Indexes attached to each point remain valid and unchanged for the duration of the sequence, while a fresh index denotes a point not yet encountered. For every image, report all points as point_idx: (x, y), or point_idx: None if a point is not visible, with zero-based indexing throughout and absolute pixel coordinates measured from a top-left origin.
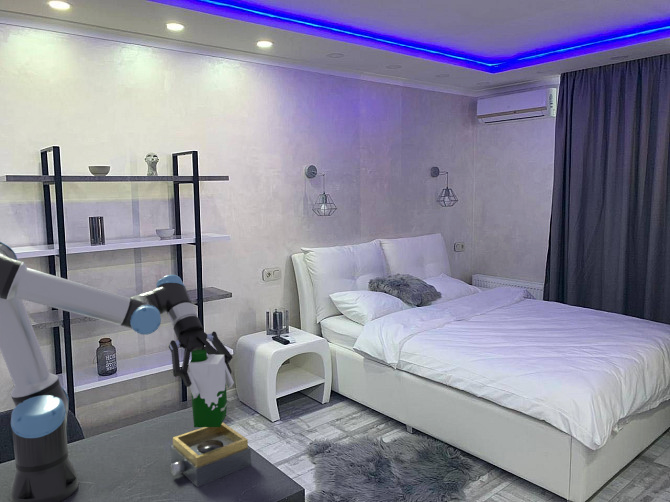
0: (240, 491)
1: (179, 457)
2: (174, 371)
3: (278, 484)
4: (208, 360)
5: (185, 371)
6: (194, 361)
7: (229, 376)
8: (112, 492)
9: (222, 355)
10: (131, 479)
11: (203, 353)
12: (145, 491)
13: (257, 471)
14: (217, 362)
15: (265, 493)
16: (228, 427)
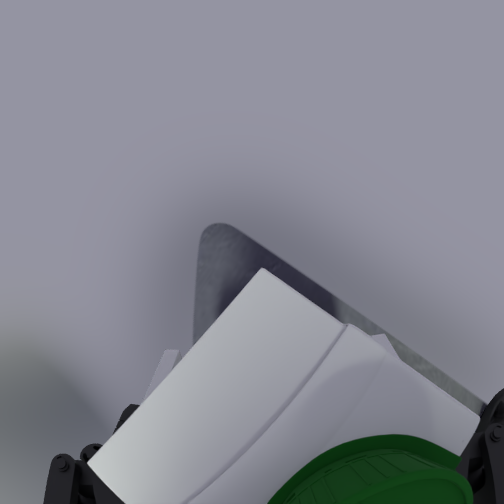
0: (277, 273)
1: None
2: (481, 472)
3: (215, 253)
4: (309, 414)
5: None
6: (431, 460)
7: (163, 377)
8: (449, 390)
9: (105, 459)
10: None
11: (371, 485)
12: (412, 368)
13: (220, 312)
14: (244, 307)
15: (246, 244)
16: None
